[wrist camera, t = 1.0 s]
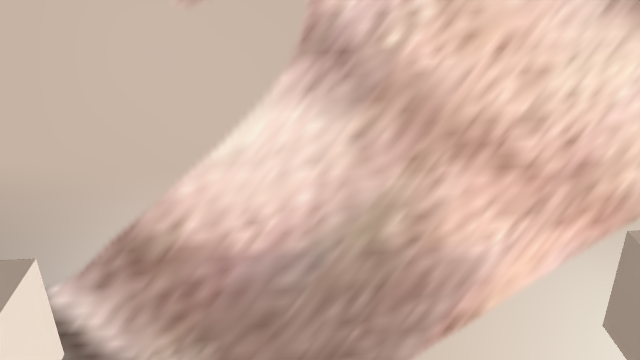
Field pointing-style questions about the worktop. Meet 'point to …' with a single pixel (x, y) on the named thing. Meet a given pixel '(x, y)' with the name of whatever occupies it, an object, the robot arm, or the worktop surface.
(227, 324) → the worktop surface
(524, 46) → the worktop surface
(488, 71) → the worktop surface
